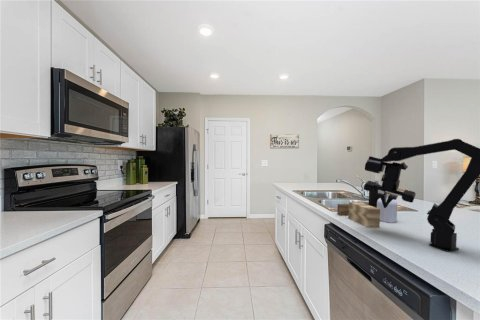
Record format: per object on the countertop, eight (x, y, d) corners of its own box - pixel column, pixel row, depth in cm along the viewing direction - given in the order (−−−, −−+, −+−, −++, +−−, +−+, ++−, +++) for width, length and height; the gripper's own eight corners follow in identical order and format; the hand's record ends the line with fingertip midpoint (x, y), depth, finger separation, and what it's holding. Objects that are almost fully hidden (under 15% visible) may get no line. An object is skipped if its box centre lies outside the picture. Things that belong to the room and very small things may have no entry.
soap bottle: (372, 219, 124) (374, 174, 124) (383, 217, 128) (385, 173, 128) (389, 223, 116) (391, 175, 116) (400, 221, 120) (402, 175, 119)
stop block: (356, 215, 131) (357, 205, 131) (340, 215, 130) (340, 205, 130) (353, 214, 134) (353, 204, 134) (337, 214, 133) (337, 204, 133)
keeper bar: (379, 227, 110) (380, 208, 110) (367, 227, 109) (368, 209, 109) (358, 218, 126) (359, 202, 126) (348, 218, 125) (348, 202, 125)
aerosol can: (367, 215, 133) (369, 180, 132) (367, 212, 140) (368, 179, 140) (384, 217, 129) (385, 181, 129) (383, 213, 136) (384, 180, 136)
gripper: (421, 175, 98) (413, 207, 103) (373, 165, 110) (368, 194, 115) (417, 184, 90) (408, 218, 96) (365, 173, 103) (360, 203, 108)
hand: (385, 207), depth 104 cm, fingers closed
